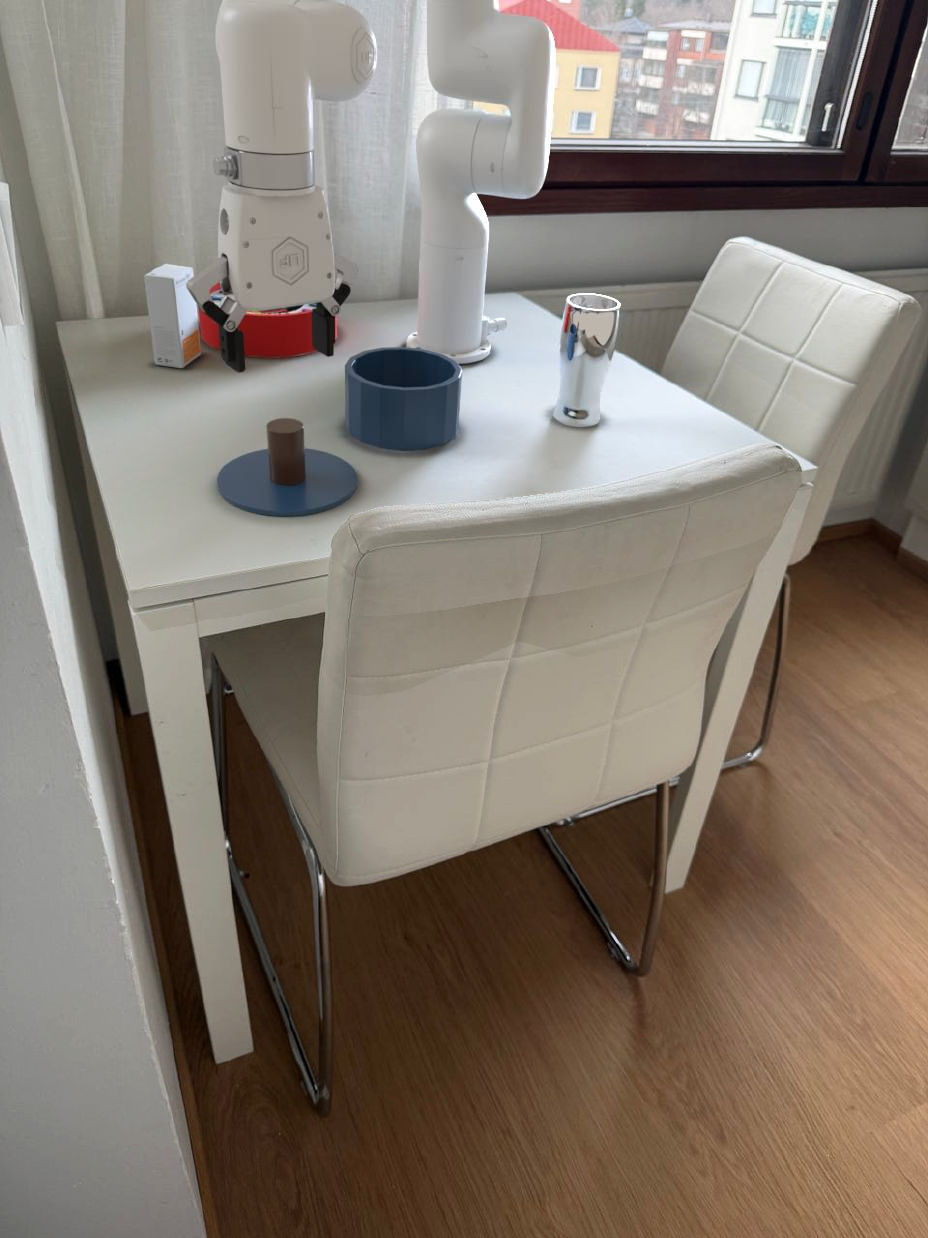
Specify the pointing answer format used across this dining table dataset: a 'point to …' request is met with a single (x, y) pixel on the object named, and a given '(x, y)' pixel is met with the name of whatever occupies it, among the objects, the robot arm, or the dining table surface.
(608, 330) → the beer glass
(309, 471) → the tin lid
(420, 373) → the tin
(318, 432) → the dining table surface
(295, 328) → the toy clock
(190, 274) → the cosmetic box
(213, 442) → the dining table surface
